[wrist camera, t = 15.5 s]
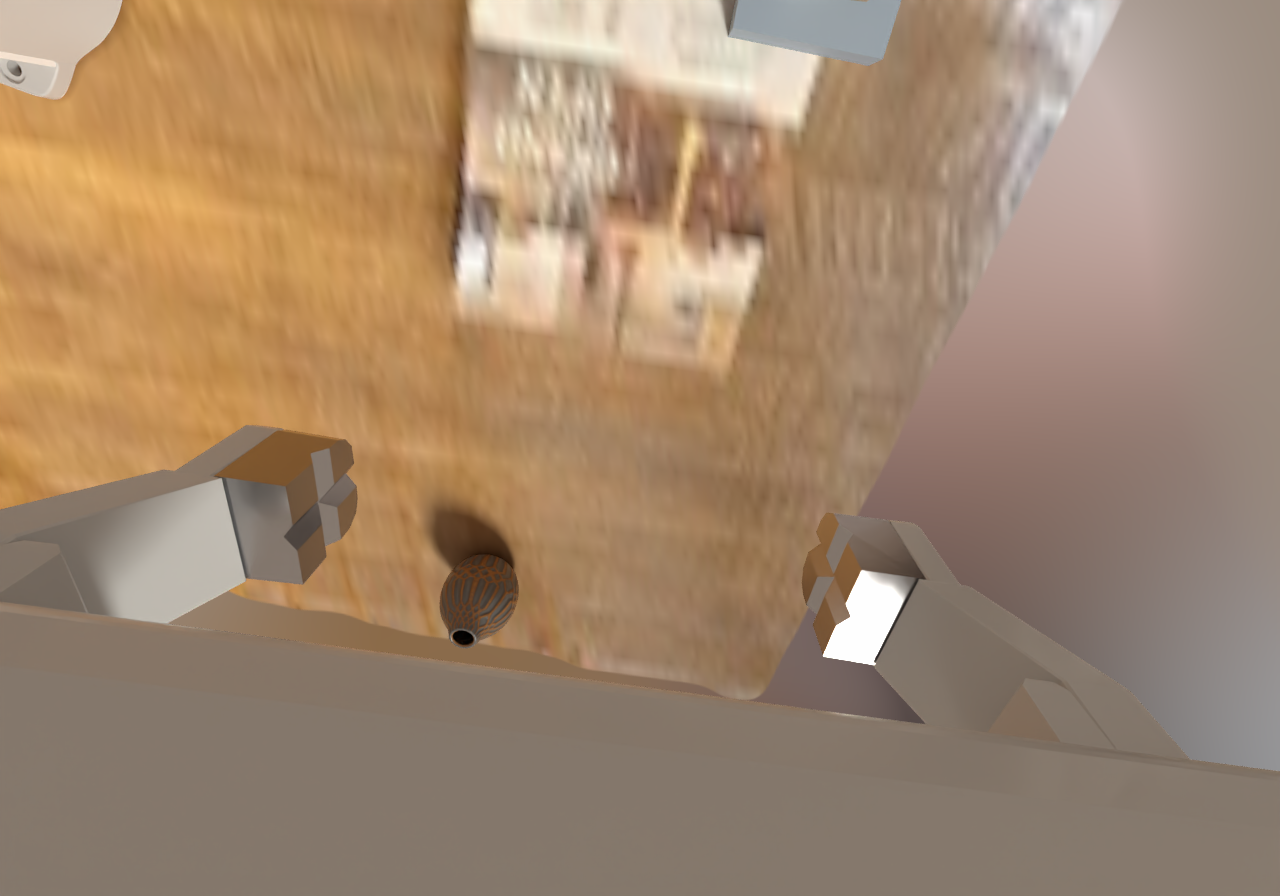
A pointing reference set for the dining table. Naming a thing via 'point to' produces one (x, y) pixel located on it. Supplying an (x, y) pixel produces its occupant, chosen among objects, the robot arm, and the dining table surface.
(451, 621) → the vase
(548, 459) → the dining table surface
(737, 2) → the slab
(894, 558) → the robot arm
